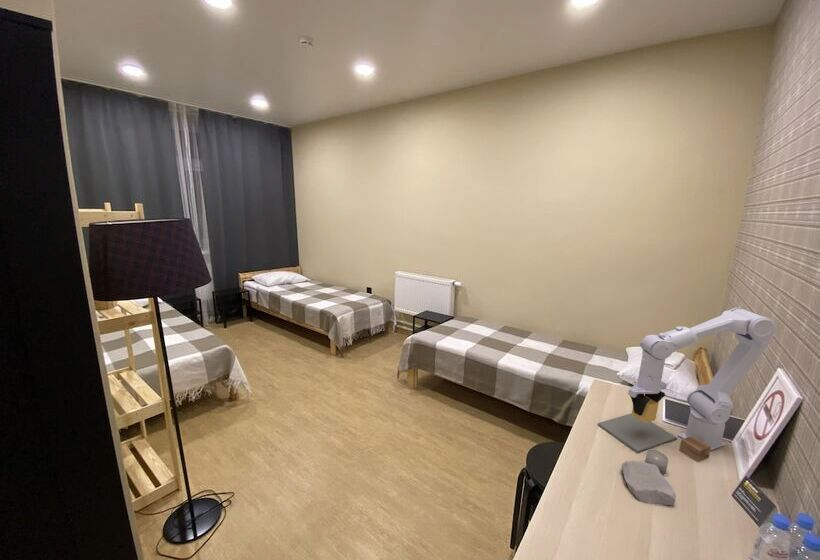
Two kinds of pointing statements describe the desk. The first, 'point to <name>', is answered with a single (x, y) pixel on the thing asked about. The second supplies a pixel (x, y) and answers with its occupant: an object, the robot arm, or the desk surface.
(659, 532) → the desk surface
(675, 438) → the slate mat
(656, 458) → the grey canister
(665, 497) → the stone block
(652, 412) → the ochre block
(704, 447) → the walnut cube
